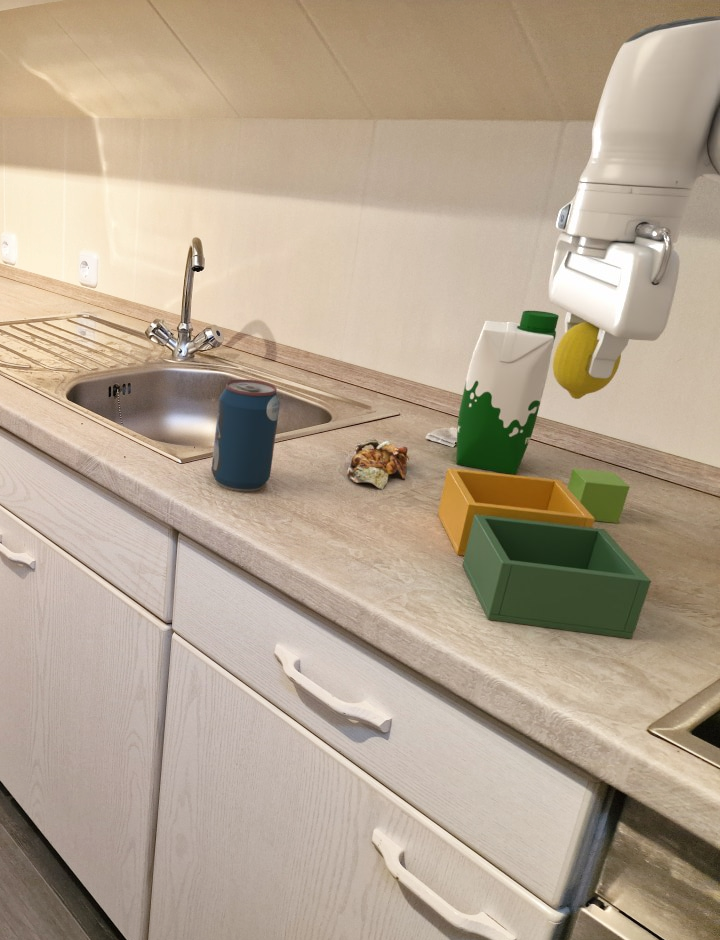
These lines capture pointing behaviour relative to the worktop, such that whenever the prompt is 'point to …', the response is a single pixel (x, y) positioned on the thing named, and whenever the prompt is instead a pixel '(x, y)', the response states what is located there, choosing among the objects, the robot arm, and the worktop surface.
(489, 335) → the milk carton
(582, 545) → the green bin
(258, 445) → the soda can
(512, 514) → the ochre bin
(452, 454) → the worktop surface
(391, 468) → the pastry
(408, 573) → the worktop surface
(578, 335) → the lemon
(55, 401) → the worktop surface
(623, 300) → the robot arm
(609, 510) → the green block
